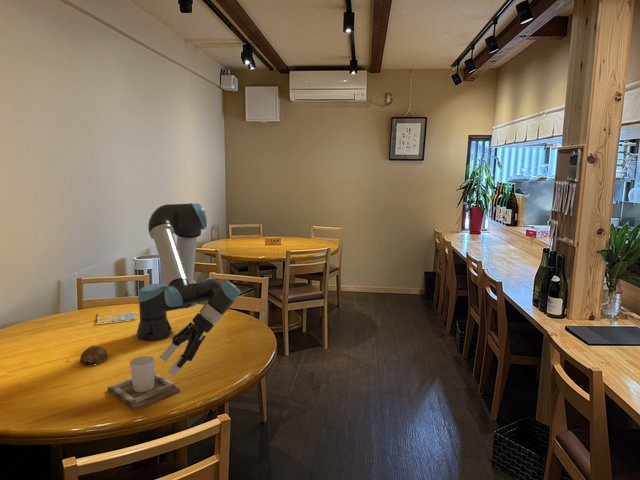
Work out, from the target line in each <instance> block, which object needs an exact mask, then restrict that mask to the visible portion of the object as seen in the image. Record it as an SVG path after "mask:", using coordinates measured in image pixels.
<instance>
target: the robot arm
mask: <svg viewBox="0 0 640 480" xmlns="http://www.w3.org/2000/svg"><path fill="white" fill-rule="evenodd" d="M205 210H206V209H205V208H204V206H203V205H202V204H200V203H194V202H193V203H192V202H191V203H170V204H169V203H167V204H163V205H161V206H158V207H157V208H156V209H155V210H154V211H153V212H152V213H151V215H150V218H149V220H148V228H147V229H148V233H149V236H150V238H151V240H152V239H153V240H154V244H155V245H154V246H155V248H156V252H157V253H158V258H159V260H160V263H161V268H162V271H163V274H164V277H165V280H166V283H167V285H165V284H164V283H152V284H148V285H145V286H143V287H142V288H140V289H139V291H138V298H137V300H138V306H139V307H138V308H139V309H138V310H139V323H138V327H137V331H136V337H137V339H138V340H140V341H145V342H146V341H147V342H150V341H157V340H162V339H166V338H167V337H169V336H171V335H172V327H171V323H170V322H169V319H168V317H167V315H168V314H167V312H170V311H178V310H181V309H182V310H183V309H189V308H191V307H195V306H197V305H198V303H204V302H206V303H205V304H204V305H202V307H201V308H200V310H199V312H197V313H196V315H195V316H194V317H193V318H192V321H190V322H189V323H188V324H187V325H186V326H185V327H184V328H183V329H181V330H180V331H178V333H176V334H174V336H173V337H172V338H171V339H172V340H171V343H170V344H169V345H168V347H166V349H165V350H164V352H163V353H162V354H161V355H160V356H159V358H160V359H161V360H163V361H164V362H167V361H169V358H171V356H172V355H173V354H174V353H175V352H176V350H177V349H178V348H179V347H180V345H181V344H183V343H185V342H186V341H188V342H187V344H186V347H185V349H184V351H183V354H180V356H179V357H178V359H177V360H176V361H175V362H174V363H173V365H171V367H170V368H169V369H168V371H167V373H168V374H170V375H171V376H173V377H175V376H176V375H177V374H178V373H179V371H180V370H181V368H182V367H184V365H185V364H186V363H187V362H188V361H189V362H192V361H193V359H194V357H195V356H196V354H197V351H198V350H199V348H200V346H201V344H202V343H203V341H204V340H205V339H206V336H205V334H204V333H207V334H208V333H210V331H211V330H212V329H213V328H214V326H215V324H217V323H218V322H219V321H220V320H221V319H222V316H223V315H224V314H226V312H227V311H228V310H229V309H230V307H231V306H232V305H233V304H234V302H236V300H237V299H238V297H239V296H240V295H241V290H240V289H239V288H238V287H237V285H234V284H233V283H232V282H230V281H229V280H225V281H224V282H223V283H222V282H221V281H220V280H218V279H215V278H213V277H208V278H206V279H205V280H203V281H202V282H201V281H200V282H196V280H195V279H194V275H195V274H194V273H195V263H196V255H197V254H196V253H197V242H198V238H199V237H201V235H202V231H203V230H206V229H207V227H208V218H207V213H206V211H205ZM174 235H175V236H176V241H175V237H174Z"/></svg>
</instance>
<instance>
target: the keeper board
mask: <svg viewBox="0 0 640 480" xmlns="http://www.w3.org/2000/svg"><path fill="white" fill-rule="evenodd" d="M106 389H107V392H108V393H110V394H111V393H112V396H114V395H115V396H114V397H115V398H117V399H118V398H119V399H118V400H120V401H121V400H122V401H123V402H122V401H121V402H122V403H124V404H125V403H126V404H125V405H127V406H128V407H129V406H130V407H129V408H131V409H133V410H134V411H138V410H141V409H143V407H144V408H146V407H148V406H150V405H153V404H155V403H158V402H159V401H162V400H164V399H167V398H170V397H172V396H174V395H176V394H179V393H180V392H181V388H179V387H177V386H176V384H175V383H174V382H172V381H171V380H169V379H167V378H165V377H164V376H162V375H160V374H158V373H157V372H155V376H154V388H152V389H151V390H149V391H146V392H135V391H134V390H133V383H132V378H130V379H127V380H124V381H121V382H119V383H117V384H114V385H111V386H107V388H106Z"/></svg>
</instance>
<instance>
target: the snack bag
mask: <svg viewBox="0 0 640 480" xmlns="http://www.w3.org/2000/svg"><path fill="white" fill-rule="evenodd" d="M123 310H124V309H121V311H123ZM128 310H130V309H128ZM115 311H116V310H113V312H115ZM118 311H120V310H118ZM104 317H109V318H110V317H122V318H116V319H109V320H107V321H97V323H104V322H115V321H125V320H134V319H135V320H136V312H135V311H134V312H132V313H127V314H121V315H115V316H104ZM96 318H98V319H99V318H100V317H97V316H96ZM101 318H102V317H101ZM98 319H97V320H98Z"/></svg>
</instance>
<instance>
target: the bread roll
mask: <svg viewBox="0 0 640 480" xmlns="http://www.w3.org/2000/svg"><path fill="white" fill-rule="evenodd" d="M79 359H80V360H79V361H80V362H79V363H80V364H81V365H82V364H83V365H82V366H84V365H94V364H98V365H100V364H99V363H101V364H103V363H102V362H104V361H105V362H106V361H107V360H108V359H109V353H108V351H107V349H106V348H105V347H102V346H101V345H91V346H89V347H88V348H86V349H85V350H84V351H83V352H82V353H81V355H80V358H79ZM94 366H95V365H94Z"/></svg>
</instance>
